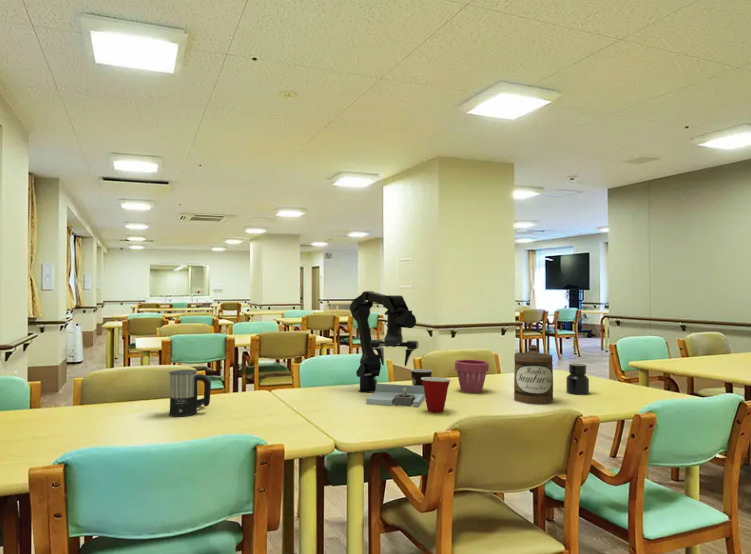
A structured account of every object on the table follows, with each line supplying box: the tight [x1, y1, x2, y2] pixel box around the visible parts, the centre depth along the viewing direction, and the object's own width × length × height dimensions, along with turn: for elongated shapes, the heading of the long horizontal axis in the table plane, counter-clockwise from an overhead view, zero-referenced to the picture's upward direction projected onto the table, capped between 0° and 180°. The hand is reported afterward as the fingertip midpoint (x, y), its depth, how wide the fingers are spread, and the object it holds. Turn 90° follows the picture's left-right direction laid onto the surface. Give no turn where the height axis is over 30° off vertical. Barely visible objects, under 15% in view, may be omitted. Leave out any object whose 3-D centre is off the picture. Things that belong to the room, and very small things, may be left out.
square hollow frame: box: [393, 394, 414, 407], centre depth 202 cm, size 6×6×3 cm
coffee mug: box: [410, 368, 433, 386], centre depth 222 cm, size 12×9×10 cm
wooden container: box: [513, 344, 554, 405], centre depth 211 cm, size 15×15×22 cm
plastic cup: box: [421, 376, 452, 414], centre depth 192 cm, size 11×11×12 cm
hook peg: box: [402, 388, 407, 397], centre depth 202 cm, size 2×2×6 cm
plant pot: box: [454, 359, 490, 394], centre depth 229 cm, size 14×14×13 cm
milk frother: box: [168, 369, 212, 418], centre depth 188 cm, size 14×16×15 cm
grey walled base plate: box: [365, 383, 425, 408], centre depth 207 cm, size 20×16×5 cm
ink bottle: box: [566, 363, 590, 395], centre depth 227 cm, size 10×9×12 cm
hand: (394, 365), depth 213 cm, fingers open, 9 cm apart
